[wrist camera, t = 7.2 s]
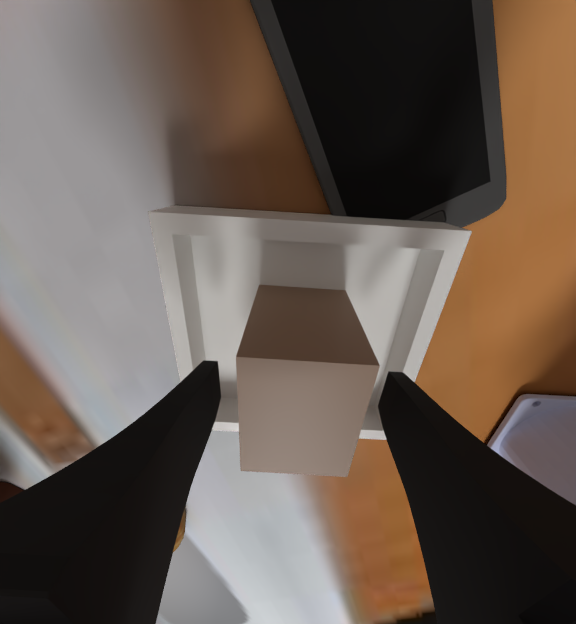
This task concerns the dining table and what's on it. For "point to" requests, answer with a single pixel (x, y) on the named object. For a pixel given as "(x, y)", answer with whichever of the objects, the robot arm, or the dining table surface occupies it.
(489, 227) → the dining table surface
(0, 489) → the ice cream bowl
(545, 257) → the dining table surface
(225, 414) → the bin
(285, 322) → the beige block
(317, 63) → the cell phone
